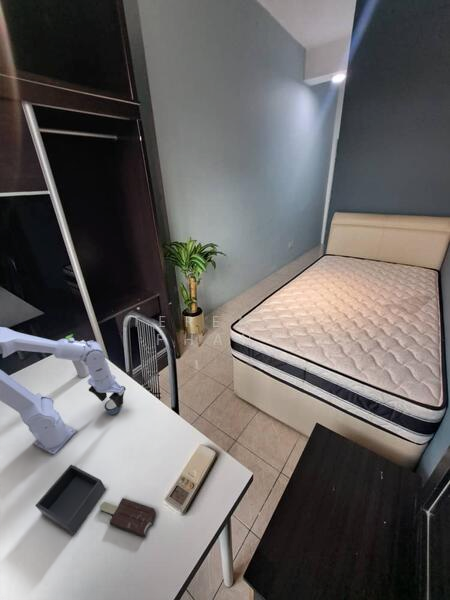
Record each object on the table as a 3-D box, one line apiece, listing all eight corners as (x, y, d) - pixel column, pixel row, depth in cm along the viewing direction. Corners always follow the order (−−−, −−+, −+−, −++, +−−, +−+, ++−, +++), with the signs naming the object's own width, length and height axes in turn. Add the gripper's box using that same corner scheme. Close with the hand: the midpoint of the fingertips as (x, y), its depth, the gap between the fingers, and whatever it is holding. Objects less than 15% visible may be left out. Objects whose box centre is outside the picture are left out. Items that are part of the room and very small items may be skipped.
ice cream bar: (94, 519, 62) (147, 538, 58) (92, 516, 61) (146, 535, 58) (108, 495, 66) (158, 511, 63) (106, 492, 66) (157, 508, 62)
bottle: (91, 373, 107) (76, 336, 97) (81, 379, 104) (64, 341, 94) (87, 368, 110) (72, 332, 100) (77, 374, 107) (60, 337, 97)
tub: (43, 514, 63) (35, 505, 61) (76, 473, 72) (70, 464, 69) (74, 535, 59) (66, 526, 57) (106, 489, 68) (100, 479, 65)
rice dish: (103, 413, 89) (100, 407, 87) (114, 401, 93) (112, 395, 92) (115, 418, 87) (112, 412, 86) (126, 405, 92) (124, 399, 90)
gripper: (126, 371, 83) (135, 398, 89) (94, 361, 88) (105, 388, 94) (111, 387, 77) (122, 415, 83) (77, 375, 82) (90, 403, 88)
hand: (112, 402), depth 88 cm, fingers open, 7 cm apart
